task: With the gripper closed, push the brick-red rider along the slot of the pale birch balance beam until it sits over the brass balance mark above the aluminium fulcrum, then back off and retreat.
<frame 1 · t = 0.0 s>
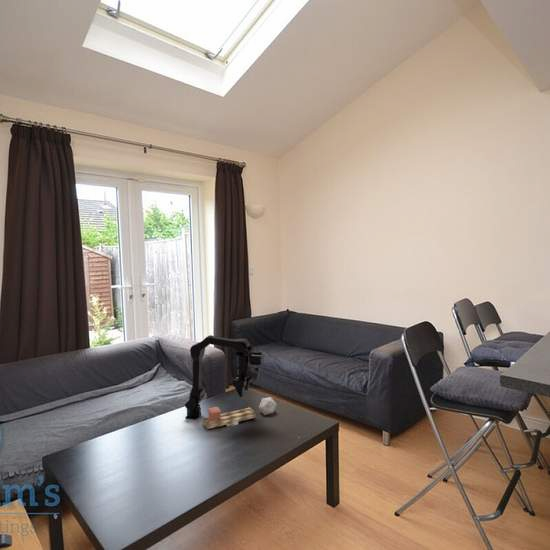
hand: (243, 393, 186), 15 cm above the table, fingers open, 9 cm apart
beam: (229, 421, 187), on the table
rider: (214, 415, 183), point 5 cm above the table, slide at 0.0 cm
die: (267, 413, 197), on the table
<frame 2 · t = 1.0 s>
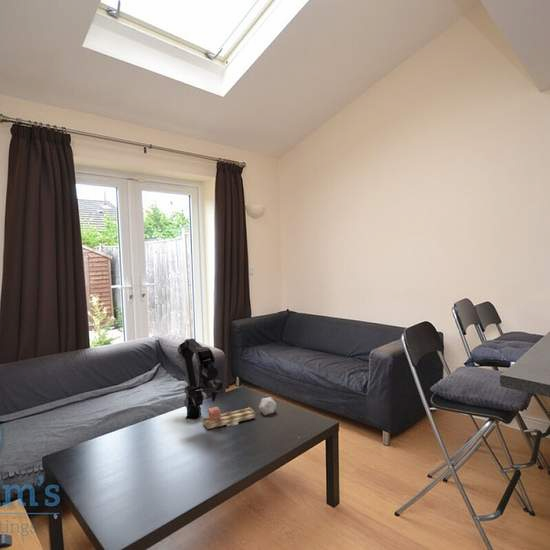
hand: (204, 404, 180), 12 cm above the table, fingers open, 9 cm apart
nothing on the table moved.
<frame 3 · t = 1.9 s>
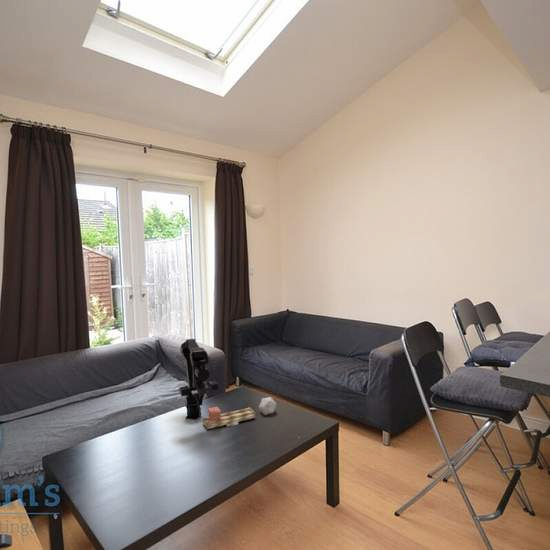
hand: (199, 405, 179), 12 cm above the table, fingers closed
nothing on the table moved.
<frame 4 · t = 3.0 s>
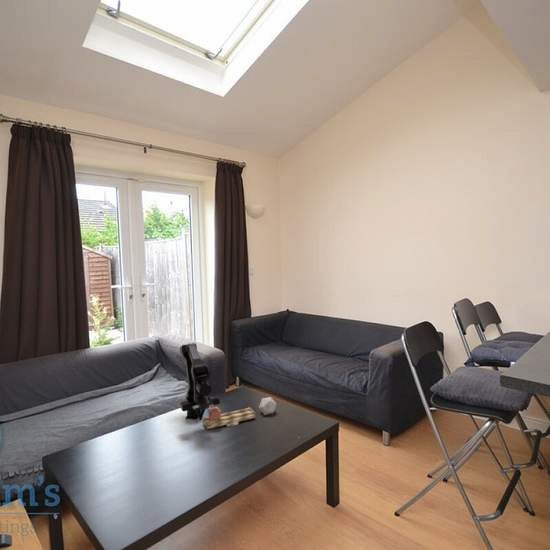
hand: (200, 419, 179), 5 cm above the table, fingers closed
nothing on the table moved.
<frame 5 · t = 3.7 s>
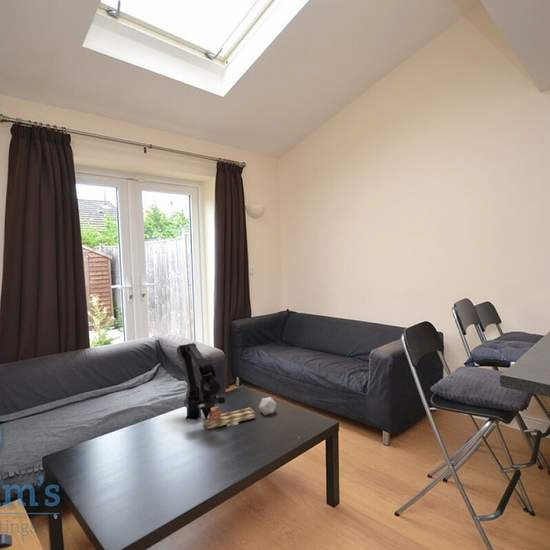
hand: (206, 418, 181), 5 cm above the table, fingers closed
rider: (214, 415, 183), point 5 cm above the table, slide at 0.2 cm, touching gripper
everything else where it was.
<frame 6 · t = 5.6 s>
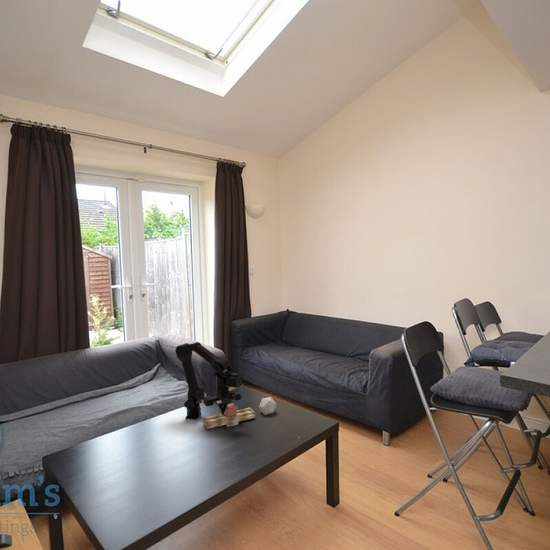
hand: (222, 414, 185), 5 cm above the table, fingers closed
rider: (231, 411, 187), point 5 cm above the table, slide at 9.0 cm, touching gripper
everything else where it was.
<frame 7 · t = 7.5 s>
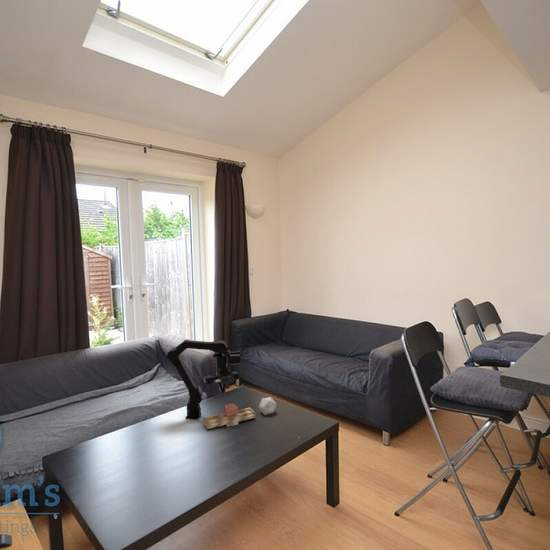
hand: (222, 393, 194), 12 cm above the table, fingers closed
rider: (231, 411, 187), point 5 cm above the table, slide at 9.0 cm
everything else where it was.
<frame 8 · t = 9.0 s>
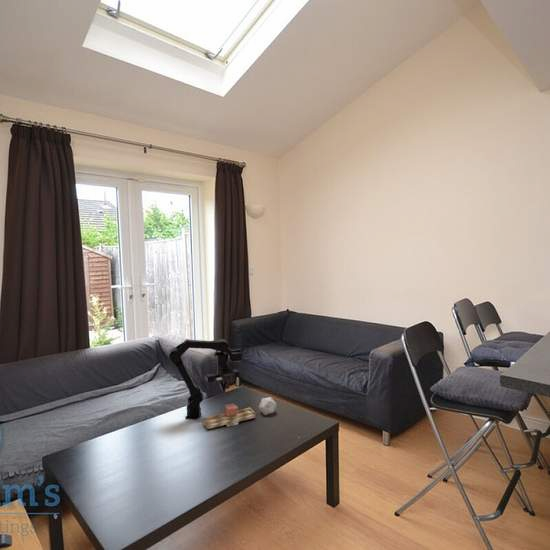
hand: (223, 390, 197), 12 cm above the table, fingers closed
nothing on the table moved.
at the end: rider slide at 9.0 cm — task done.
